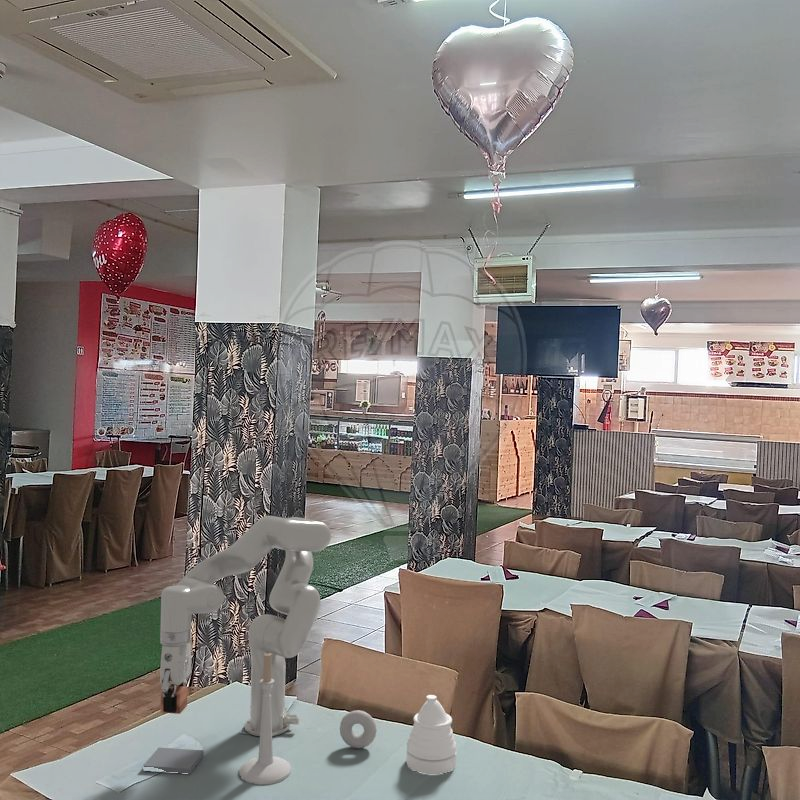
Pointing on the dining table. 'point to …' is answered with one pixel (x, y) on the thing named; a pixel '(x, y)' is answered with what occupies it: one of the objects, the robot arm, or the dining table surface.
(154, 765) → the slate board
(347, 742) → the donut
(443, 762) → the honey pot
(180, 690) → the brown cube
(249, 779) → the candlestick
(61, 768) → the dining table surface
